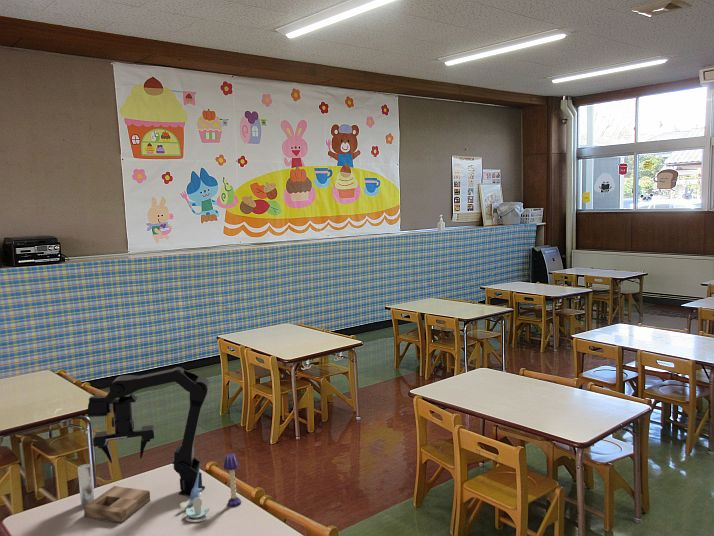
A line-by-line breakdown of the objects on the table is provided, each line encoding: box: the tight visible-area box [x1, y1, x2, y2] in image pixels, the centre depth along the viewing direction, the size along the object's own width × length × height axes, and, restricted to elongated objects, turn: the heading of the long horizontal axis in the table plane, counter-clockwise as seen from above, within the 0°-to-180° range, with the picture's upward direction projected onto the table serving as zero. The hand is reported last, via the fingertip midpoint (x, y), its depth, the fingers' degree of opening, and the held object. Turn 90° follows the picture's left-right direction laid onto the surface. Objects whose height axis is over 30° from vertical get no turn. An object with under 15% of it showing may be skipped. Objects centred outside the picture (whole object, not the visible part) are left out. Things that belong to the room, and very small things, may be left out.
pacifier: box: [185, 496, 210, 523], centre depth 183 cm, size 7×6×6 cm
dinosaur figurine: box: [179, 463, 203, 512], centre depth 193 cm, size 3×15×10 cm
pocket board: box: [83, 485, 151, 524], centre depth 191 cm, size 14×14×4 cm
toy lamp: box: [223, 452, 242, 508], centre depth 191 cm, size 5×5×17 cm
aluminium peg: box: [77, 463, 95, 509], centre depth 194 cm, size 4×4×13 cm
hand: (126, 460), depth 197 cm, fingers open, 9 cm apart
